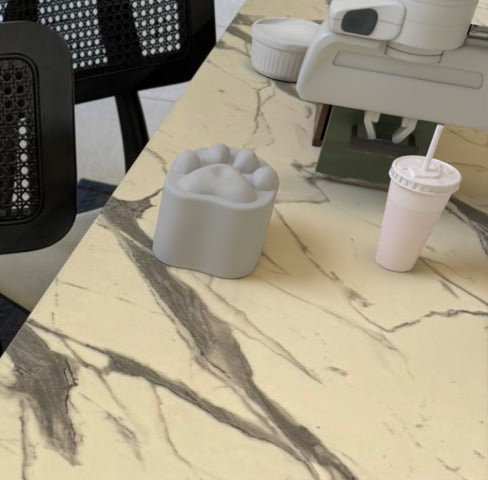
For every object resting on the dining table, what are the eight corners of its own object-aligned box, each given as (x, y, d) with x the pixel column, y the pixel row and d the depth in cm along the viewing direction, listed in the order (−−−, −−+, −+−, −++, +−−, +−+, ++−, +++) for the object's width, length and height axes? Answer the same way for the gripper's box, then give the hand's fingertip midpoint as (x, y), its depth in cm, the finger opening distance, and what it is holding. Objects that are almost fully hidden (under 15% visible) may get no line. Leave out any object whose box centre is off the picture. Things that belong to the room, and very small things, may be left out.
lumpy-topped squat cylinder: (143, 259, 98) (158, 174, 92) (173, 202, 107) (188, 122, 101) (250, 284, 96) (273, 199, 90) (271, 224, 105) (292, 143, 99)
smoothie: (348, 259, 101) (393, 120, 92) (382, 239, 104) (428, 104, 95) (406, 286, 98) (459, 145, 88) (439, 265, 101) (493, 127, 92)
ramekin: (282, 50, 145) (291, 11, 141) (343, 77, 138) (355, 37, 135) (226, 63, 140) (235, 22, 136) (287, 91, 133) (298, 50, 130)
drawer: (421, 209, 108) (451, 129, 102) (313, 190, 110) (336, 109, 104) (416, 139, 122) (442, 64, 116) (320, 122, 124) (341, 48, 118)
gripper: (531, 24, 99) (478, 159, 108) (319, -9, 102) (285, 125, 112) (538, 44, 95) (482, 184, 104) (316, 9, 98) (280, 147, 107)
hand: (378, 153), depth 108 cm, fingers closed, pressing on drawer
